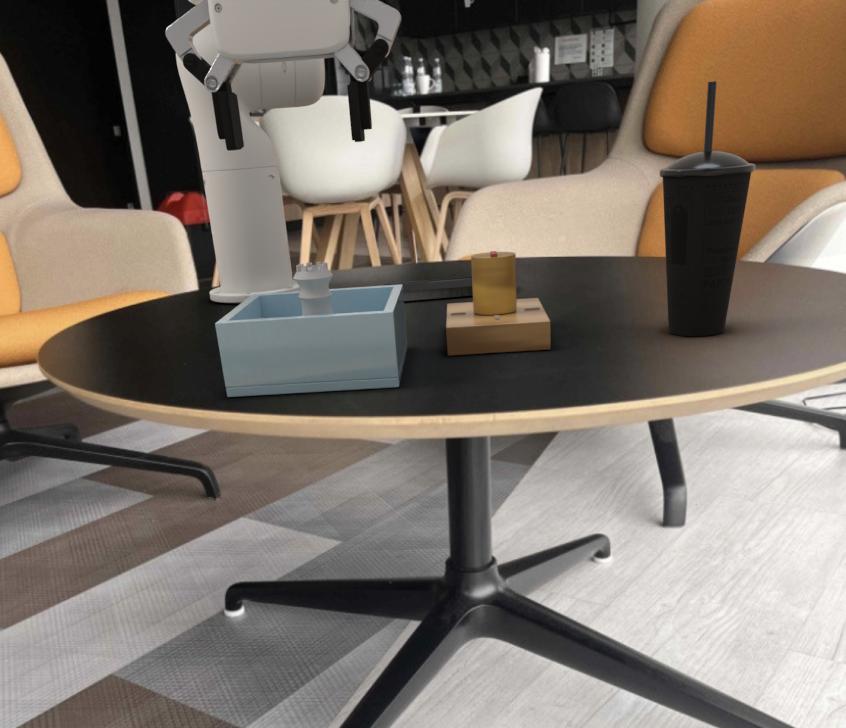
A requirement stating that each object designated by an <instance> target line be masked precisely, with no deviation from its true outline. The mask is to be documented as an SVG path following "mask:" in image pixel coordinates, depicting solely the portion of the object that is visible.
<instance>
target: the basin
mask: <svg viewBox="0 0 846 728" xmlns="http://www.w3.org/2000/svg"><path fill="white" fill-rule="evenodd" d="M329 291H330V292H331V293H332V296H331V297H330V299H331V307H332V311H333V314H324V315H309V316H302V304H301V300H300V298H299V297H298V296H299V295H300V291H295V292H280V293H264V294H253V295H251V296H250V297H249V298H247V299H246V300H245V301H243V302H242V303H239V304H238V305H237V306H236V307H234V308H233V309H232V310H231V311H229V312H228V313H226V314H225V315H224V316H223V317H221V318H220V319H218V321H216V322H215V323H214V325H215V332H216V339H217V345H218V349H219V350H218V351H219V356H220V361H221V362H220V363H221V368H222V374H223V380H224V386H225V391H226V397H227V398H240V397H241V398H242V397H257V396H258V397H259V396H275V395H293V394H307V393H308V394H309V393H325V392H342V391H343V392H344V391H357V390H358V391H360V390H361V391H362V390H374V389H375V390H377V389H394V388H399V387H400V384H401V379H402V375H403V371H404V365H405V362H406V358H407V353H408V338H407V337H408V336H407V322H406V308H405V301H404V294H403V285H402V284H401V285H386V286H383V285H376V286H375V285H374V286H373V285H372V286H358V287H341V288H329Z"/></svg>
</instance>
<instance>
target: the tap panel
mask: <svg viewBox="0 0 846 728" xmlns="http://www.w3.org/2000/svg"><path fill="white" fill-rule="evenodd" d="M551 329H552V328H551V319H550V318H549V316H548V314H547V312H546V310H545V308H544V306H543V304H542V303H541V300H540V299H539V297H531V298H530V297H528V298H517V310H516V311H514V312H512V313H507V314H500V315H480V314H476V313H474V312H473V301H468V302H454V303H453V302H452V303H447V304H446V321H445V333H446V334H445V335H446V350H447V351H446V352H447V356H448V357H449V356H450V357H453V356H466V355H467V356H468V355H483V354H484V355H485V354H501V353H502V354H503V353H514V352H515V353H517V352H533V351H534V352H535V351H536V352H537V351H549V350H551V349H552V347H551V341H552V340H551V339H552V337H551V336H552V334H551V332H552V331H551Z"/></svg>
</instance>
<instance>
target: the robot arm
mask: <svg viewBox="0 0 846 728" xmlns="http://www.w3.org/2000/svg"><path fill="white" fill-rule="evenodd" d="M187 1H188V2H190V3H191V4H193V5H195V6H194V7H192V8H190V9H189V10H188V11H187V12H185V13H184V14H183V15H182V16H180V17H179V18H178V19H176V20H175V21H174V22H172V23H170V25H168V26H167V27H166V29H165V31H164V33H165V37H166V39H167V41H168V42H169V44H170V45H171V47H172V49H173V50H174V52H175V60H176V66H177V71H178V75H179V78H180V82H181V86H182V89H183V92H184V95H185V99H186V102H187V105H188V109H189V113H190V117H191V121H192V126H193V129H194V135H195V140H196V145H197V150H198V155H199V163H200V168H201V174H202V180H203V186H204V192H205V193H204V194H205V199H206V204H207V212H208V218H209V223H210V229H211V235H212V243H213V249H214V254H215V261H216V262H215V263H216V267H217V274H218V279H219V285H220V286H218V287H215V288H212V289H211V290H210V291H209V292H208V293H209V298H210V299H209V300H211V301H212V302H213V303H219V304H220V303H221V304H241V303H242V302H243V301H245V300H246V299H247V298H249V297H250V296H251V295H253V294H264V293H280V292H295V291H300V286H299V285H298V284H297V282H296V281H295V280H294V279H293V277H294V276H293V270H292V262H291V255H290V247H289V239H288V231H287V223H286V216H285V215H286V214H285V206H284V200H283V192H282V183H281V175H280V167H279V160H278V153H277V151H276V150H277V149H276V148H275V144H274V142H273V141H272V139H271V137H270V136H269V135H268V134H267V133H266V131H265V130H264V129H263V128H262V127H260V125H259V124H258V123H257V122H256V121H255V120H254V119H253V118H252V117H251V115H250V113H251V112H256V111H257V112H258V111H260V110H271V109H273V110H274V109H289V108H301V107H302V108H303V107H308V106H312V105H314V104H316V103H317V102H318V101H319V100H320V99H321V98H322V96H323V94H324V91H325V85H326V67H325V66H326V65H325V59H333V58H336V59H338V61H339V62H340V63H341V65H343V66H344V68H345V69H346V70H347V71H348V73H349V81H350V82H349V84H346V85H347V87H346V90H347V100H348V110H349V121H350V122H349V123H350V135H351V141H354V143H361V142H365V141H366V134H365V130H367V131H368V130H372V129H373V128H372V127H373V122H372V110H371V109H372V108H371V98H370V97H371V96H370V84H369V82H370V81H371V80H372V78H373V76H374V75H375V74H376V73H377V71H378V70H379V68H380V67H381V66H382V65H383V64H384V62H385V61H386V59H387V58H388V56H389V55H390V52H391V49H392V46H393V43H394V41H395V39H396V36H397V33H398V32H399V31H398V30H399V28H400V25H401V22H402V15H401V13H400V11H399V10H398V9H396V8H394V7H392V6H390V5H389V4H387V3H384V2H383V1H380V0H187ZM354 11H355V12H357V13H359V14H360V15H363V16H365V17H367V18H369V19H371V20H373V21H375V22H376V23H377V24H378V25H377V26H378V30H377V32H376V35H375V39H374V41H373V43H372V44H371V45H370V46H369V48H368V49H367V51H366V52H365V53H364V54H363V56H362V57H361V56H360V54H359V53H358V52H357V51H356V50H355V49H354V46H355V41H356V28H355V27H356V26H355V14H354Z"/></svg>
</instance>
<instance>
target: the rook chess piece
mask: <svg viewBox="0 0 846 728" xmlns="http://www.w3.org/2000/svg"><path fill="white" fill-rule="evenodd" d="M295 267H296V272H295V274H294V276H292V277H293V280H295V281H296V282H297V284H298V285H299V286H300V295H299V296H298V297H299V298H300V300H301V304H302V316H309V315H324V314H333V311H332V307H331V299H330V297H331V296H332V293H331V292H330V291H329V289H330V287H329V286H330V282H331V280H332V278H333V277H334V274H333V273H332V272H331V271H330V269H329V266H328V262H324V261H317V262H316V264H315V265H313V262H305V265H304V263H299V264H297V265H295Z"/></svg>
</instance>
